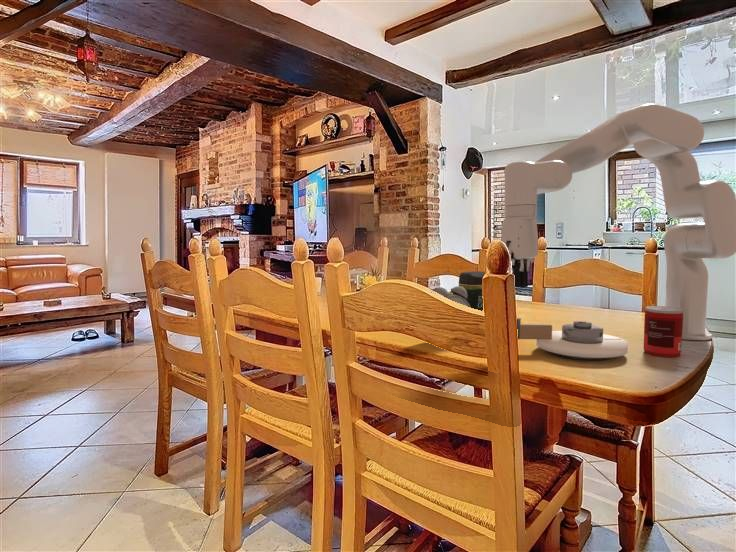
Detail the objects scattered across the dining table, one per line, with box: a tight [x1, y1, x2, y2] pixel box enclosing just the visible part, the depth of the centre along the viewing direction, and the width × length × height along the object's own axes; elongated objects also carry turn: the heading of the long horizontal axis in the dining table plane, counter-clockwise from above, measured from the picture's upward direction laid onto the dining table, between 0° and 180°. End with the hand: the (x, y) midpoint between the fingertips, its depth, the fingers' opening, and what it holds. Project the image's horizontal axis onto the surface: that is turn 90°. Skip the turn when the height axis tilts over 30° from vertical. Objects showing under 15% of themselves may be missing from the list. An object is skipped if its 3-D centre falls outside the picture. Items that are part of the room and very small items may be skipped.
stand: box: [550, 352, 613, 361], centre depth 110 cm, size 14×14×1 cm
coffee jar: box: [458, 270, 486, 311], centre depth 131 cm, size 10×8×19 cm
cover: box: [561, 320, 604, 344], centre depth 109 cm, size 9×9×4 cm
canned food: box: [643, 305, 683, 358], centre depth 108 cm, size 8×8×11 cm
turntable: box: [516, 317, 629, 359], centre depth 110 cm, size 20×27×7 cm
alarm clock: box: [432, 285, 470, 307], centre depth 124 cm, size 12×7×15 cm, turn 110°
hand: (520, 286), depth 113 cm, fingers closed
